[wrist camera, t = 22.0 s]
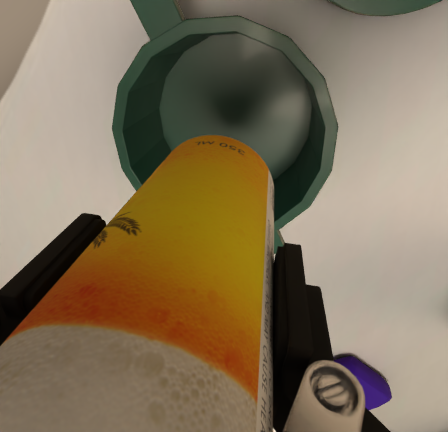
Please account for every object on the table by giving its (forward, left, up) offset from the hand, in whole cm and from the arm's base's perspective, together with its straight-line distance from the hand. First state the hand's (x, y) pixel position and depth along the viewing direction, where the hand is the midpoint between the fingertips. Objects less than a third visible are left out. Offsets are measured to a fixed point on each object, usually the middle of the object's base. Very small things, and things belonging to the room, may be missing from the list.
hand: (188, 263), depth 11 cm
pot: (+1, 0, -20) cm, 20 cm away
